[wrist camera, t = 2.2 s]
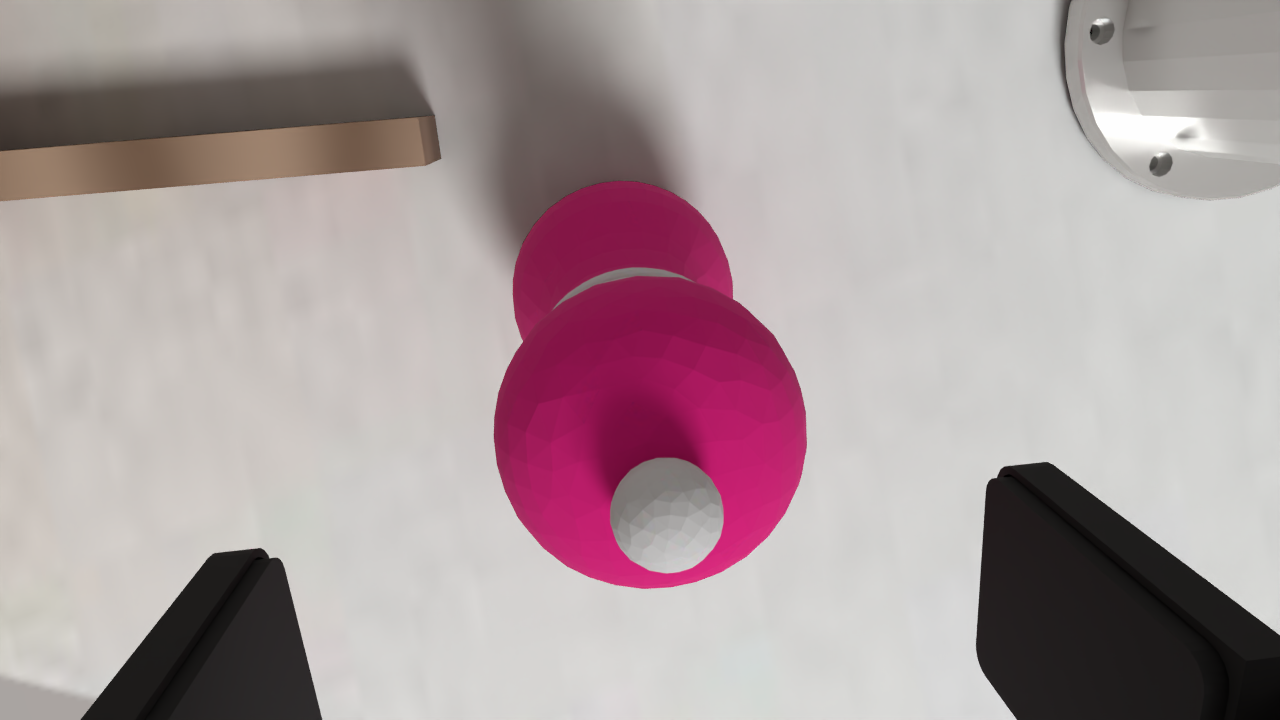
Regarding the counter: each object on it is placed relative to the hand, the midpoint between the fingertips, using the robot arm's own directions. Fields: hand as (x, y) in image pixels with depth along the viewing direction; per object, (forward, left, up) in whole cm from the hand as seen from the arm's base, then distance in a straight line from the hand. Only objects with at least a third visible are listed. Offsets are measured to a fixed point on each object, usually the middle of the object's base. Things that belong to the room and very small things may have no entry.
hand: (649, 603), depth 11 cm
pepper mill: (0, 0, -21) cm, 21 cm away
